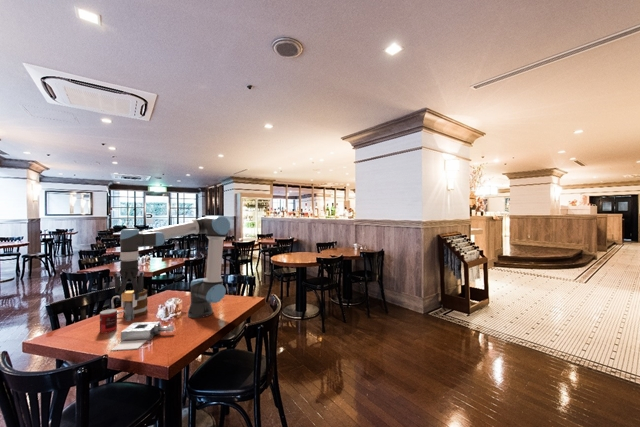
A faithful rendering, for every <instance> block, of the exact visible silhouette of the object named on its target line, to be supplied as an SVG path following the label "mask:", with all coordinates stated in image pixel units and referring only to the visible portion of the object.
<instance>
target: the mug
mask: <svg viewBox="0 0 640 427" xmlns="http://www.w3.org/2000/svg"><path fill="white" fill-rule="evenodd" d="M129 291H134V290H133V289H132V290H131V289H130V290H129ZM116 298H118V299H119V300H120V295H115V296H113V297H112V298H111V300H110V302H111V309H115V304H114V299H116ZM122 309H123V310H120V311H117V315H119V314H122V313H123V314H122V316H123V318H125V307H123V308H122ZM146 314H148V289H145V288H143V291H142V292H139V299H138V300H137V306H136V307H134V319H135V318H140V317H142V316H145V315H146Z"/></svg>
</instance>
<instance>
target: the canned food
mask: <svg viewBox="0 0 640 427" xmlns="http://www.w3.org/2000/svg"><path fill="white" fill-rule="evenodd" d="M117 312H118V309H117V308H114V309H112V308H107V309H105V310H104V309H103V310H102V311H100V312H99V333H101V334H107V333H112V332H115V331H116V330H117V329H118V314H117Z"/></svg>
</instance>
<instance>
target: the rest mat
mask: <svg viewBox="0 0 640 427" xmlns="http://www.w3.org/2000/svg"><path fill="white" fill-rule="evenodd" d="M147 341H148V340H137V341H122V342H121V341H120V342H119V343H118V344H116V345H115V346H114V347H113V348H111V349H110V352H115V351H117V350H118V351H128V350H129V351H131V350H134V351H135V350H139V349H140V348H141V347H142V346H143V345H144V344H146V342H147ZM118 351H117V352H118Z"/></svg>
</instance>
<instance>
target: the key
mask: <svg viewBox="0 0 640 427" xmlns="http://www.w3.org/2000/svg"><path fill="white" fill-rule="evenodd" d="M133 294H134V291H130V290H125V292H124V293H122V301H125V317H124V322H131V321H133V320H134V319H135V318H134V307H133Z"/></svg>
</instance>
